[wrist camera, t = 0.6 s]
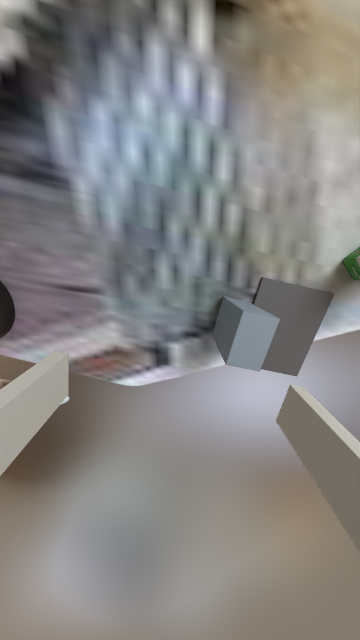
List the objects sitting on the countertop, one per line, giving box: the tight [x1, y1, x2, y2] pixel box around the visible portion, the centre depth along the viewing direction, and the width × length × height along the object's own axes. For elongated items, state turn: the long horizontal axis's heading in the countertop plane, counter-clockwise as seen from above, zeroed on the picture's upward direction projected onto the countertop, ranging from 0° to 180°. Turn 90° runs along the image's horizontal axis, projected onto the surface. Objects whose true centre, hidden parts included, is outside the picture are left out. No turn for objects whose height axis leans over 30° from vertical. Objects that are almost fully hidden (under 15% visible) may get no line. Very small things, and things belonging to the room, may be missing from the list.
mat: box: [253, 277, 334, 376], centre depth 37 cm, size 14×18×1 cm
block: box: [212, 296, 280, 371], centre depth 31 cm, size 5×8×12 cm, turn 167°
